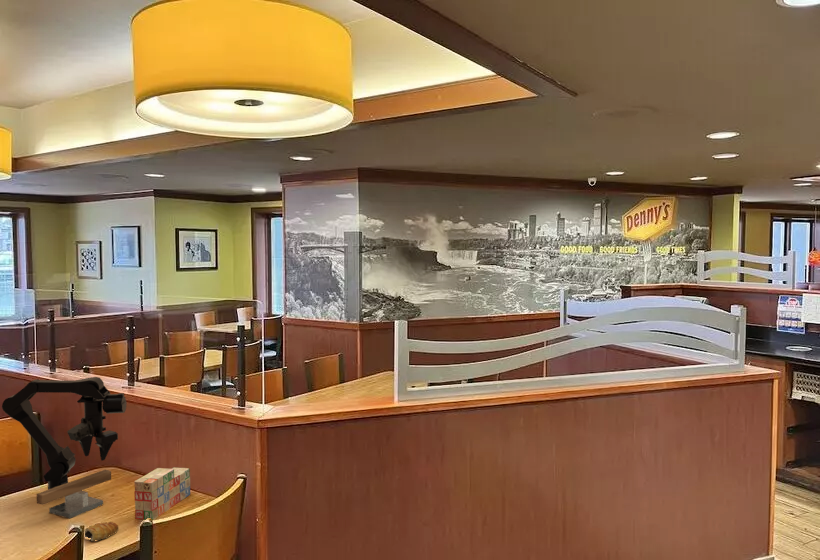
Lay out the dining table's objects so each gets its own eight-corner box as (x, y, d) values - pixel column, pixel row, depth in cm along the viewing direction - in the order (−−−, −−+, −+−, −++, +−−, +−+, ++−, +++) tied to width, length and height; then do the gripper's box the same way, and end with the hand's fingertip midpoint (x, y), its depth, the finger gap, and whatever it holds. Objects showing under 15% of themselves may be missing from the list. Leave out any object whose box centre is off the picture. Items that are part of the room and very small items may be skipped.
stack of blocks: (174, 493, 216) (173, 458, 216) (190, 494, 215) (190, 459, 214) (134, 519, 196) (133, 480, 195) (152, 521, 194) (151, 482, 194)
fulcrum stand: (49, 512, 200) (48, 494, 200) (83, 499, 211) (83, 482, 211) (69, 518, 196) (68, 500, 195) (103, 504, 206) (102, 486, 206)
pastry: (109, 526, 190) (109, 514, 190) (124, 531, 187) (123, 519, 187) (80, 539, 182) (80, 526, 182) (94, 544, 179) (94, 531, 179)
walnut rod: (36, 503, 193) (36, 493, 193) (105, 477, 214) (105, 469, 214) (42, 505, 192) (42, 495, 192) (111, 479, 213) (111, 470, 213)
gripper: (55, 416, 214) (56, 460, 215) (87, 423, 205) (89, 469, 205) (85, 408, 224) (87, 451, 224) (118, 415, 214) (119, 459, 215)
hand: (94, 458), depth 217 cm, fingers open, 9 cm apart
